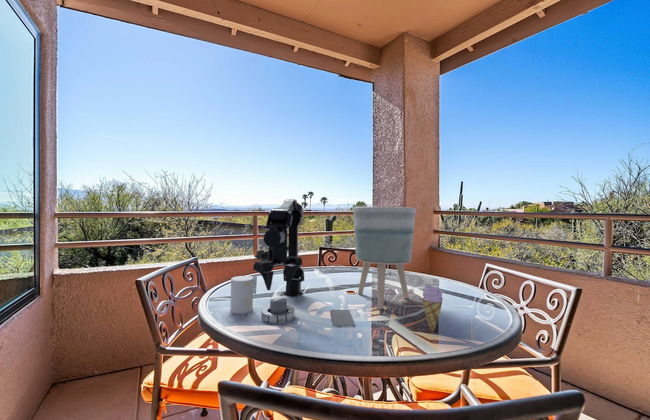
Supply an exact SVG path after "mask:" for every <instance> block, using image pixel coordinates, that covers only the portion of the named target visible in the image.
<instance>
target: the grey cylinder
mask: <svg viewBox="0 0 650 420" xmlns="http://www.w3.org/2000/svg"><path fill="white" fill-rule="evenodd" d="M253 299H254V277H253V276H250V275H239V276H233V277H231V278H230V313H232V314H239V315H240V314H247V313H250V312H252V311H253V309H254V307H253V305H254V303H253V302H254V300H253Z"/></svg>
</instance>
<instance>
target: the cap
mask: <svg viewBox="0 0 650 420" xmlns="http://www.w3.org/2000/svg"><path fill="white" fill-rule="evenodd" d="M269 303H270V304H269V306H270V313H272V314H281V313H286V312H287V305H288V299H287V298H285V297H284V296H281V297H275V298H274V297H273V298H271V299H270V300H269Z"/></svg>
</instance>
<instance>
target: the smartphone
mask: <svg viewBox="0 0 650 420" xmlns="http://www.w3.org/2000/svg"><path fill="white" fill-rule="evenodd" d="M329 313H330V318H331V323H333V324H332V327H333V326H337V327H336V328H342V327H341V326H353V327H352V328H355V327H356V324H355V321H354V318H353V317H352V313H351V311H350V310H349V309H330V311H329ZM338 326H339V327H338ZM354 326H355V327H354Z"/></svg>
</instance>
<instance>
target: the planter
mask: <svg viewBox="0 0 650 420" xmlns="http://www.w3.org/2000/svg"><path fill="white" fill-rule="evenodd" d="M352 211H353V215H352V216H353V232H354V247H355V249H354V250H355V259H356V260H357V261H358V262H362V263H363V265H362V268H361V269H362V270H361V275H360V281H359V285H358V290H357V294H358V295H363V293H364V288H365V286H366V282H367V279H368V275H369V270H370V267H371V264H373V265H377V309H378V310H384V302H385V301H384V300H385V283H386V270H387V268H386V267H387V266H388V265H389V266H390V265H391V266H393V265H395V267H396V271H397V274H398V280H399V282H400V287H401V290H402V295H403V298H404V299H406V300H409V298H410V296H409V291H408V284H407V279H406V273H405V266H404V265H406V264H409V263H411V261H412V254H413V253H412V251H413V240H414V234H415V232H414V230H415V220H416V207H408V206H406V207H403V206H402V207H401V206H399V207H398V206H354V207H352Z"/></svg>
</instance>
